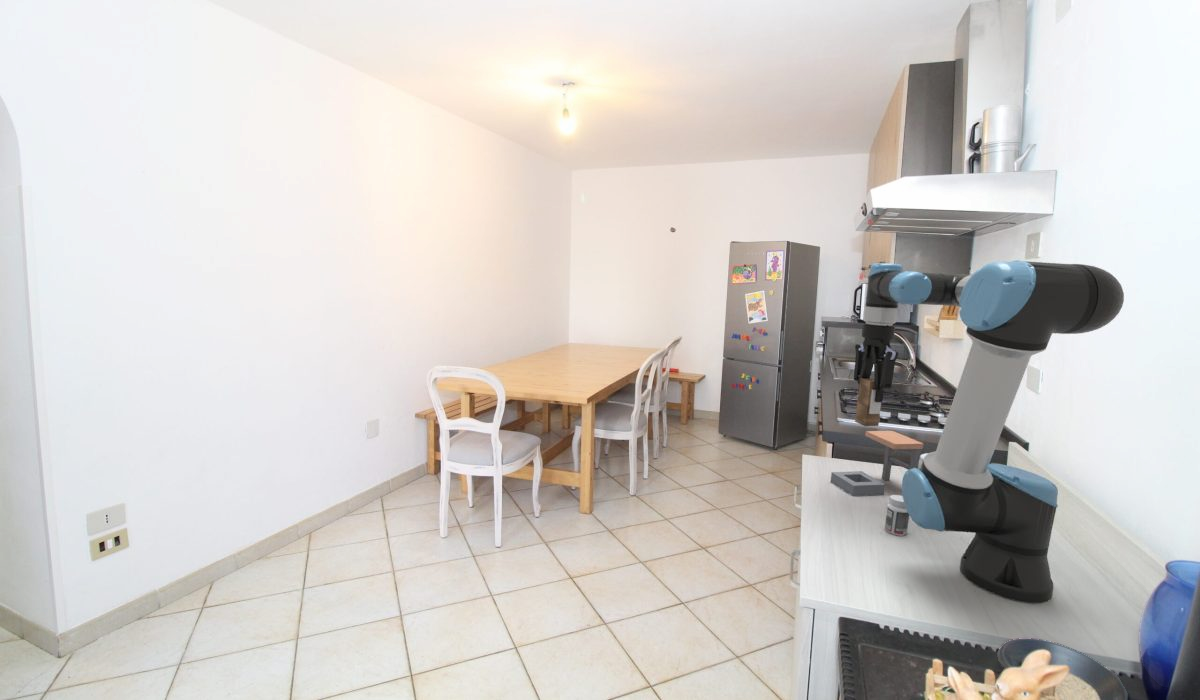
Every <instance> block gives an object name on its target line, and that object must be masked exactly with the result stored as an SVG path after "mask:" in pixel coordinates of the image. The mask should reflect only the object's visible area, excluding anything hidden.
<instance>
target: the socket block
mask: <svg viewBox="0 0 1200 700" xmlns="http://www.w3.org/2000/svg"><path fill="white" fill-rule="evenodd" d="M830 483H831V484H833V485H835V486H836V487H838V488H839V489H840V490H842V489H843V490H842V491H844V492H845V491H846V493H847V494H849V495H850V496H852V497H860V496H861V497H862V496H865V497H866V496H879V495H880V496H882V495H885V492H886V491H885V490H886V483H883V482H882V481H880V480H878V479H877V478H874V477H873V476H871V475H869V473H868V474H867V473H866V472H864V471H861V470H860V471H859V470H857V471H856V470H855V471H852V470H851V471H834V472H833V471H831V474H830Z"/></svg>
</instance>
